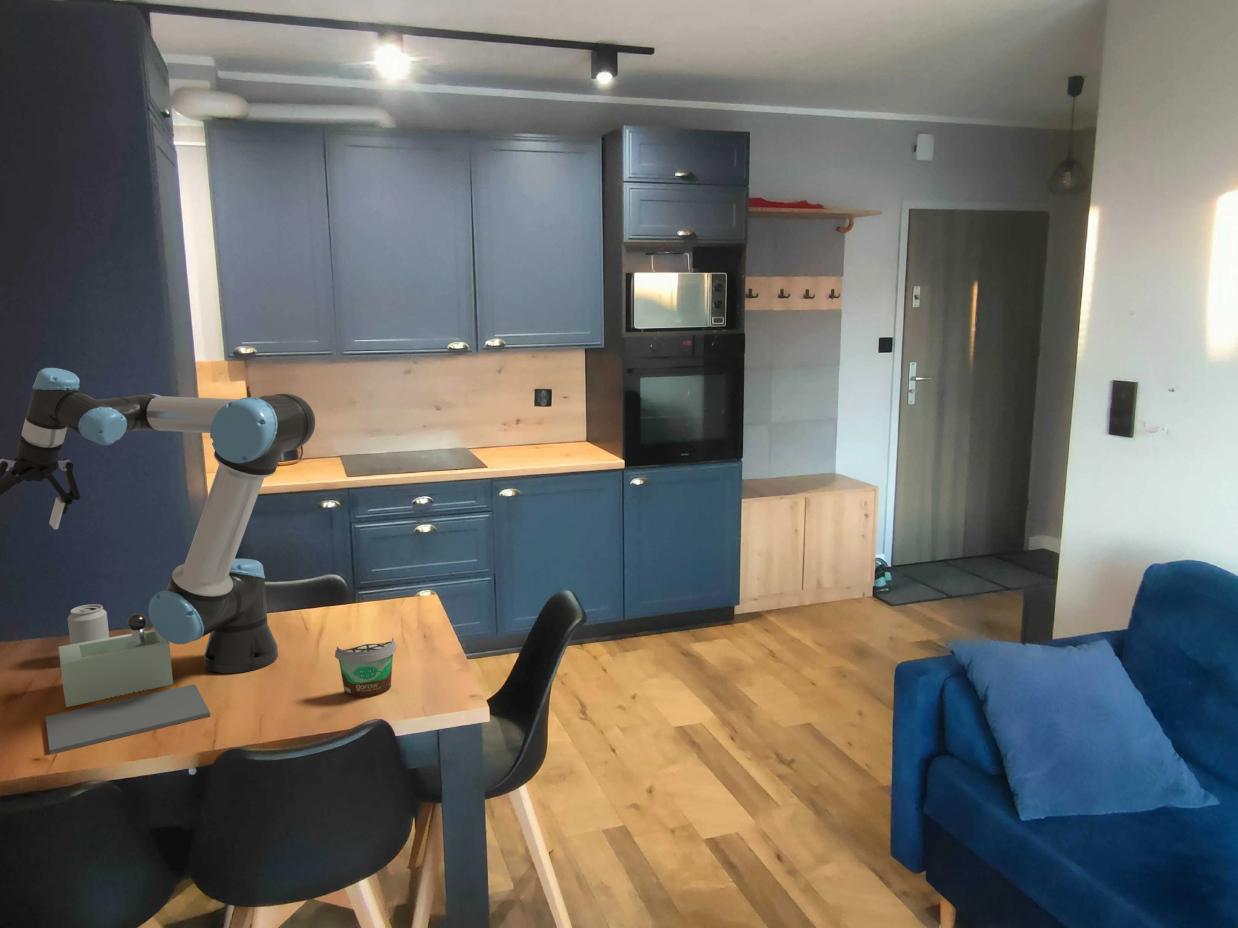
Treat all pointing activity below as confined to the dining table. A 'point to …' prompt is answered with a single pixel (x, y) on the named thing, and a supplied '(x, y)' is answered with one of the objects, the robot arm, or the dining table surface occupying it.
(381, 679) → the food container
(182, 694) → the rubber mat
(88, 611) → the can
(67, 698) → the green slotted block
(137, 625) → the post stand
